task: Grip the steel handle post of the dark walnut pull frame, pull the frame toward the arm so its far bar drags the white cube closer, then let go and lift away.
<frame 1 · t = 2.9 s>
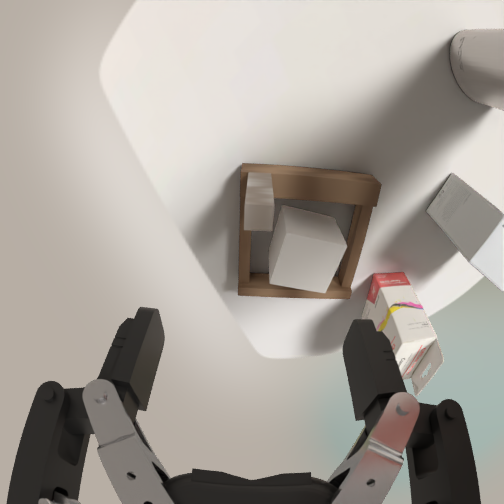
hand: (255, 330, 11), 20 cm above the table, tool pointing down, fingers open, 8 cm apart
pull frame: (307, 256, 27), point 5 cm above the table, slide at 0.0 cm
ink cartridge box: (380, 295, 37), on the table
skincare box: (458, 211, 29), on the table
white cube: (300, 233, 32), on the table
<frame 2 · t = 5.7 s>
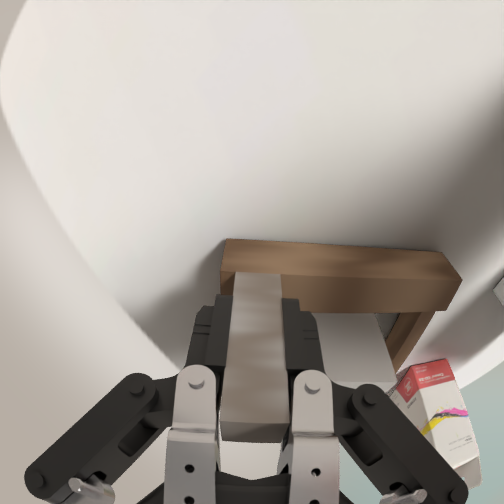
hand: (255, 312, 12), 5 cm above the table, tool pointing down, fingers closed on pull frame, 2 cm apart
pull frame: (333, 393, 15), point 5 cm above the table, slide at 0.0 cm, touching gripper
ink cartridge box: (413, 381, 25), on the table
white cube: (320, 332, 20), on the table
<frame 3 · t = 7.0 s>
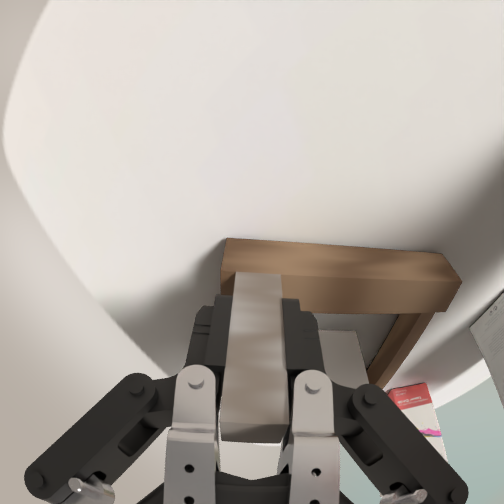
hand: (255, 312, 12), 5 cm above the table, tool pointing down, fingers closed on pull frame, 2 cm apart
pull frame: (332, 393, 15), point 5 cm above the table, slide at 4.5 cm, touching white cube, gripper
ink cartridge box: (395, 400, 28), on the table
skincare box: (503, 317, 20), on the table
white cube: (307, 351, 22), on the table, touching pull frame
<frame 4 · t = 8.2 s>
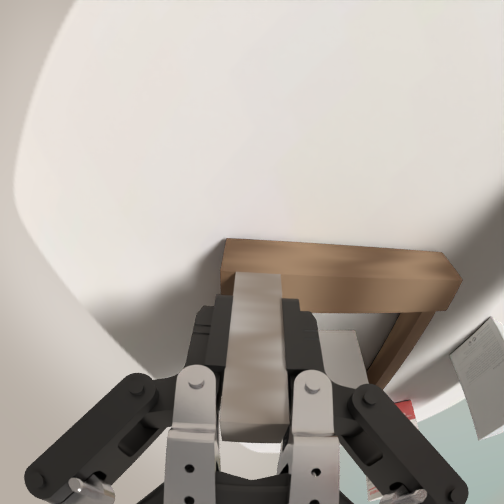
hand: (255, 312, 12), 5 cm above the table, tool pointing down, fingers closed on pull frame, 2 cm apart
pull frame: (333, 392, 15), point 5 cm above the table, slide at 8.8 cm, touching gripper
ink cartridge box: (382, 414, 30), on the table
skincare box: (485, 343, 22), on the table
white cube: (308, 351, 22), on the table
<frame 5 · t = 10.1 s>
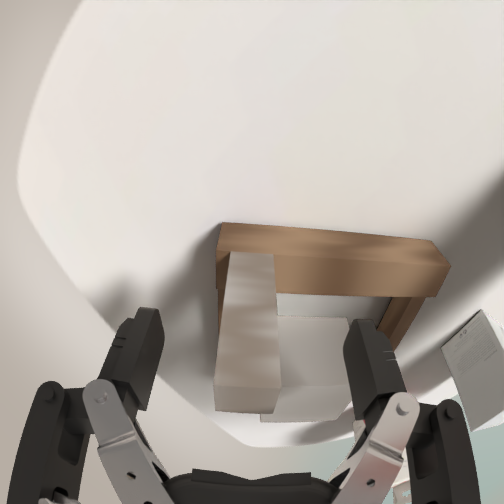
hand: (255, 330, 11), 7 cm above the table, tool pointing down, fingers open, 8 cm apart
pull frame: (324, 376, 16), point 5 cm above the table, slide at 8.8 cm
ink cartridge box: (375, 408, 31), on the table
skincare box: (476, 337, 23), on the table
white cube: (300, 339, 22), on the table
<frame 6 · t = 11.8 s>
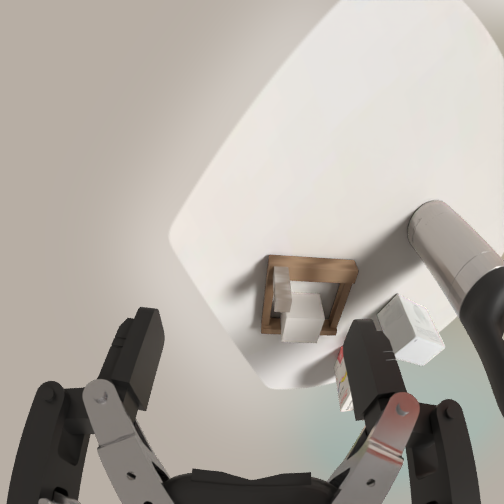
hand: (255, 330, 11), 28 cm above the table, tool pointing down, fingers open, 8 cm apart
pull frame: (308, 314, 43), point 5 cm above the table, slide at 8.8 cm
ink cartridge box: (346, 356, 58), on the table
skincare box: (402, 311, 50), on the table
white cube: (299, 304, 49), on the table
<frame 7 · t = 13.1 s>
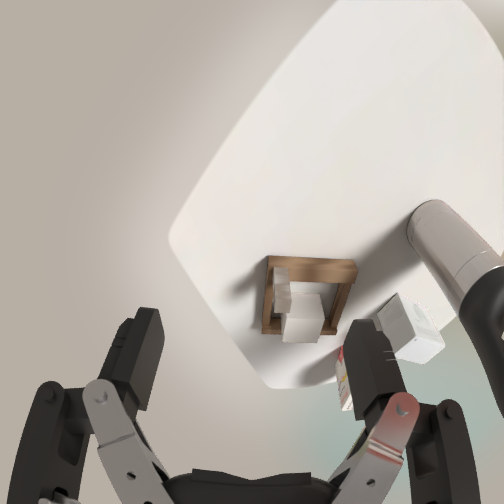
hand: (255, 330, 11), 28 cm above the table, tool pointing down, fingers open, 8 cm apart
pull frame: (308, 315, 43), point 5 cm above the table, slide at 8.8 cm
ink cartridge box: (347, 355, 58), on the table
skincare box: (402, 310, 50), on the table
white cube: (299, 304, 49), on the table
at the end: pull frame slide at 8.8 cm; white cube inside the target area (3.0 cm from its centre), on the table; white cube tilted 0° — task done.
